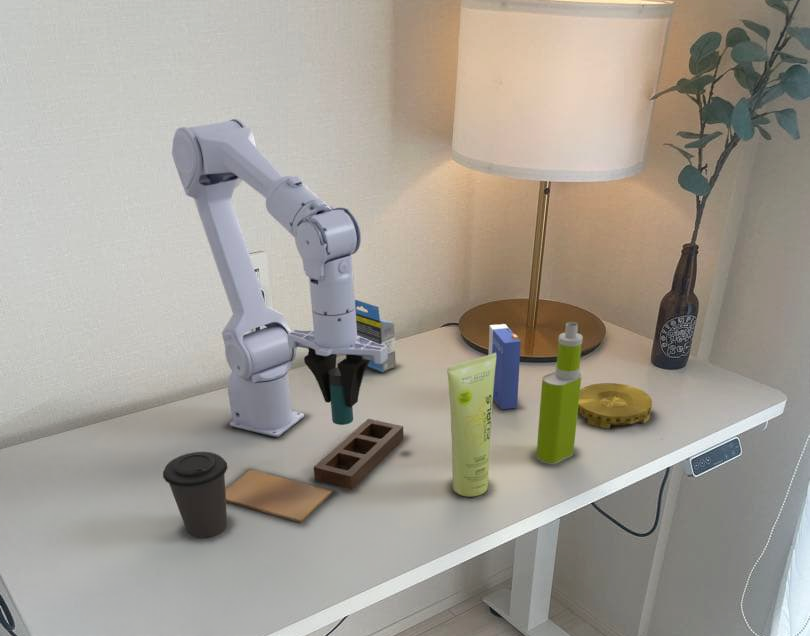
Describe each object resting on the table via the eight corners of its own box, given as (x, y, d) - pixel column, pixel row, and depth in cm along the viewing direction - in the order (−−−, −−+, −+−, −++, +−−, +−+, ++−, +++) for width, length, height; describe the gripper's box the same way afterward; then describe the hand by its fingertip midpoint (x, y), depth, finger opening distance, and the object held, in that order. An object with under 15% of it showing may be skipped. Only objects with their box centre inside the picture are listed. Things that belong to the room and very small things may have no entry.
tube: (482, 502, 110) (486, 370, 99) (446, 497, 111) (447, 366, 100) (491, 481, 114) (496, 352, 103) (456, 476, 116) (458, 348, 104)
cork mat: (217, 498, 113) (216, 496, 112) (250, 471, 118) (250, 469, 118) (301, 522, 107) (300, 520, 107) (332, 493, 113) (331, 490, 113)
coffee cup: (208, 551, 103) (194, 485, 97) (163, 533, 106) (146, 468, 100) (250, 519, 108) (239, 455, 102) (206, 503, 112) (193, 440, 106)
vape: (578, 452, 120) (592, 324, 109) (550, 466, 117) (562, 335, 106) (559, 443, 123) (571, 316, 111) (532, 456, 120) (541, 327, 108)
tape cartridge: (397, 366, 147) (394, 301, 140) (382, 373, 145) (379, 307, 138) (363, 354, 152) (359, 290, 145) (348, 360, 150) (343, 296, 143)
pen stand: (314, 480, 116) (313, 467, 115) (369, 430, 128) (368, 418, 126) (351, 489, 114) (350, 476, 112) (403, 438, 125) (403, 426, 124)
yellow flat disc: (663, 423, 127) (665, 410, 126) (593, 433, 125) (594, 421, 124) (628, 391, 137) (630, 379, 135) (563, 400, 134) (564, 388, 133)
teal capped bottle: (328, 422, 114) (324, 373, 110) (339, 413, 117) (335, 365, 112) (346, 426, 113) (342, 377, 109) (357, 417, 115) (353, 369, 111)
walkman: (517, 407, 133) (521, 338, 126) (501, 410, 132) (504, 340, 125) (502, 387, 139) (505, 321, 132) (486, 389, 139) (489, 322, 132)
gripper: (270, 310, 105) (282, 404, 113) (367, 326, 100) (372, 423, 108) (299, 293, 110) (309, 384, 118) (393, 307, 105) (396, 401, 113)
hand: (341, 401), depth 113 cm, fingers closed on teal capped bottle, 3 cm apart
